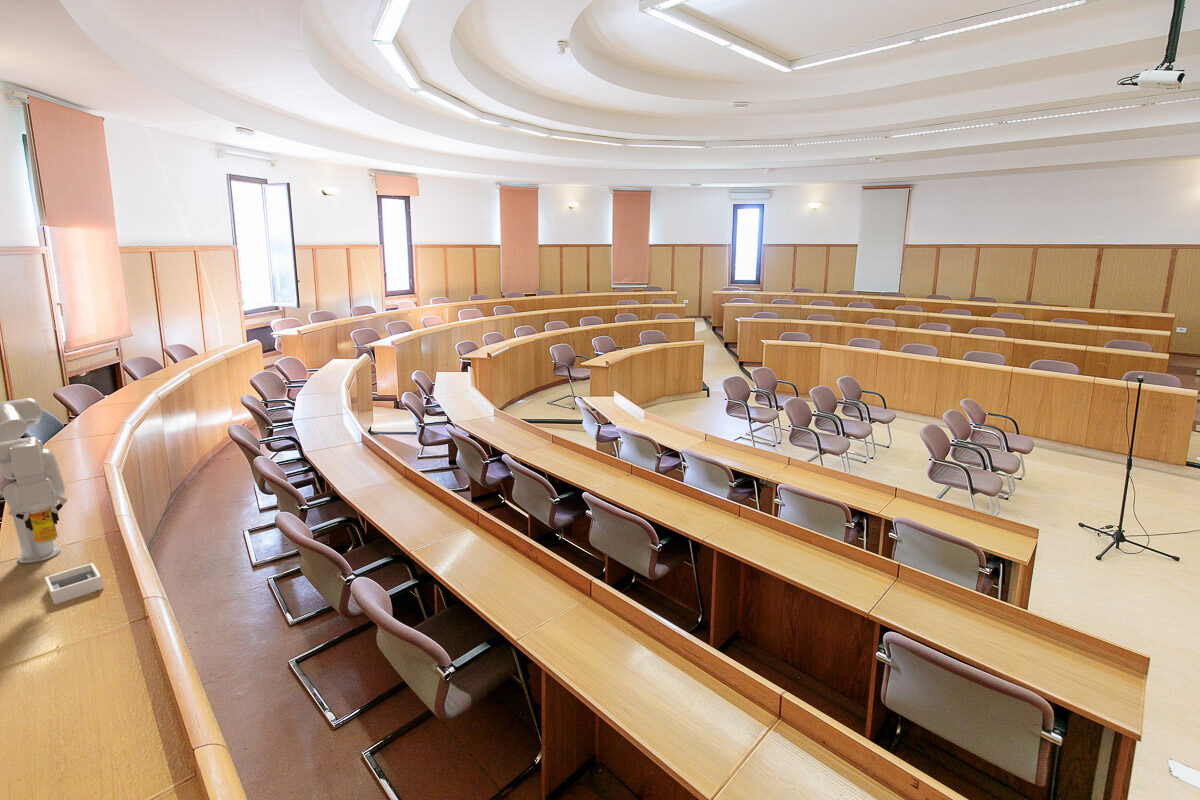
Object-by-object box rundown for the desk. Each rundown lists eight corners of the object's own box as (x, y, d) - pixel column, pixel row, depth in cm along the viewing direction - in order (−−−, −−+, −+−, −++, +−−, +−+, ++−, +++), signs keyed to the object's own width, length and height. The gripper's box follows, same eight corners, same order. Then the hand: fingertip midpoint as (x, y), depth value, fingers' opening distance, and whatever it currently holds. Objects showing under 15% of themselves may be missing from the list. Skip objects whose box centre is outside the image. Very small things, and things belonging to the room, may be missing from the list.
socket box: (47, 589, 222) (44, 577, 220) (95, 574, 231) (92, 562, 230) (54, 604, 213) (51, 591, 212) (103, 588, 223) (100, 576, 221)
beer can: (44, 545, 215) (34, 505, 211) (30, 543, 216) (20, 503, 213) (62, 537, 221) (53, 498, 217) (49, 535, 222) (39, 496, 218)
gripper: (62, 469, 221) (73, 515, 226) (-4, 482, 209) (9, 531, 214) (65, 474, 216) (76, 521, 221) (-3, 488, 204) (11, 538, 209)
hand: (43, 525), depth 217 cm, fingers closed on beer can, 6 cm apart
